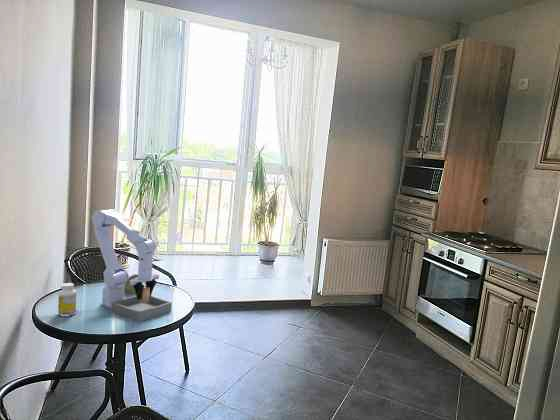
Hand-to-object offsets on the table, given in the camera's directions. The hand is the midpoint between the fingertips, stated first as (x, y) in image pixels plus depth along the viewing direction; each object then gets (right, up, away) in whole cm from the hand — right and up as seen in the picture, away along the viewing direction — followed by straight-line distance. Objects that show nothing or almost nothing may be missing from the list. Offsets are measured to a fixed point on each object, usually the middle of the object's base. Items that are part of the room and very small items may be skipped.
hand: (143, 297), depth 183 cm
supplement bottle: (-29, -5, -9) cm, 31 cm away
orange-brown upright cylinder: (0, -1, 0) cm, 1 cm away
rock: (-15, -3, +25) cm, 29 cm away
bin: (-1, -6, +1) cm, 6 cm away
